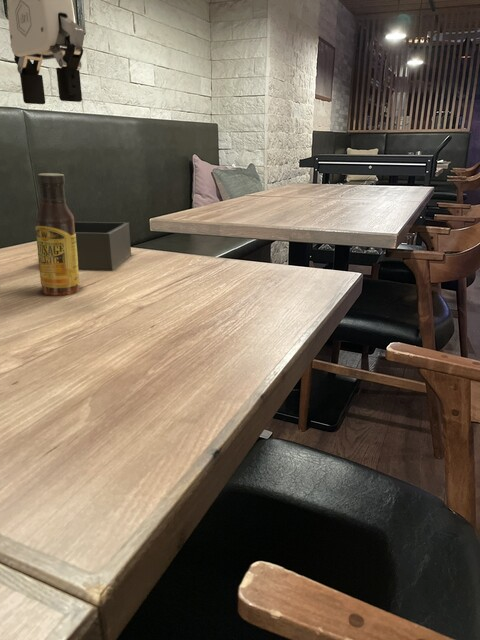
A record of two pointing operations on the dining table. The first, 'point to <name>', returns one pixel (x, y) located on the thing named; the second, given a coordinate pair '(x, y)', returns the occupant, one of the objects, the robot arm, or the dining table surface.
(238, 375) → the dining table surface
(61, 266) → the sauce bottle
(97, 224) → the tub
